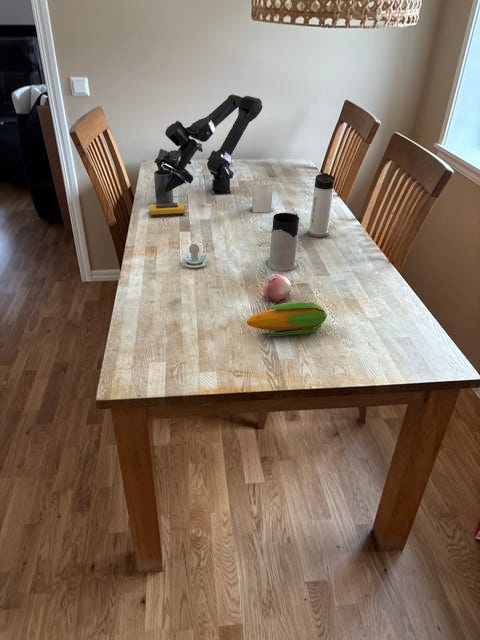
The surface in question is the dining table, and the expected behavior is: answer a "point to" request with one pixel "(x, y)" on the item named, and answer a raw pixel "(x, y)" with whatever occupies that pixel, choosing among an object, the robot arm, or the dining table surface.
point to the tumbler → (163, 186)
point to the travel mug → (321, 205)
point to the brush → (167, 210)
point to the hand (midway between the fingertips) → (160, 189)
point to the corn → (289, 318)
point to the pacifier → (194, 257)
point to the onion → (276, 288)
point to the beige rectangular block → (262, 198)
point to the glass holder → (284, 241)
